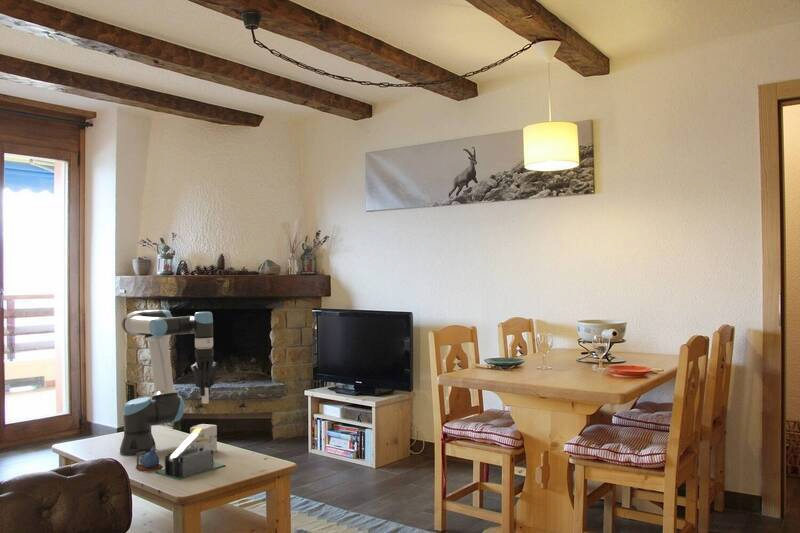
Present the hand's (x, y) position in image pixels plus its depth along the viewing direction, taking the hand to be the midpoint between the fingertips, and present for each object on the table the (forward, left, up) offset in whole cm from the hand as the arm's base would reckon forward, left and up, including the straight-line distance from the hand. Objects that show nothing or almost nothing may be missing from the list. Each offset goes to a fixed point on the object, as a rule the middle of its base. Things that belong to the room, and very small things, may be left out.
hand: (205, 403), depth 280 cm
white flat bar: (+7, -15, -14) cm, 22 cm away
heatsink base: (+6, -12, -24) cm, 28 cm away
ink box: (-13, +8, -25) cm, 29 cm away
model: (-11, -20, -25) cm, 34 cm away
